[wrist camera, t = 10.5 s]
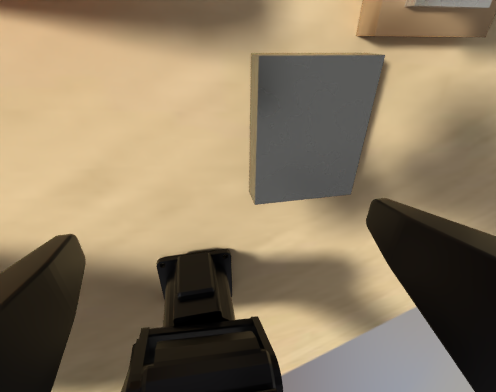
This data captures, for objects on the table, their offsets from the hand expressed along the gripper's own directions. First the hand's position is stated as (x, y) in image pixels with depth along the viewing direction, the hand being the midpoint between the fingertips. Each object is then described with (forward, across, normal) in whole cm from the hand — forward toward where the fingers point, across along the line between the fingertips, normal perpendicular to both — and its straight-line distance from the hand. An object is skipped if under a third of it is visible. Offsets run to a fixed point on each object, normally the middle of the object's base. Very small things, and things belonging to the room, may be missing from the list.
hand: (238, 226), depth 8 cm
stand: (+12, -7, +1) cm, 14 cm away
